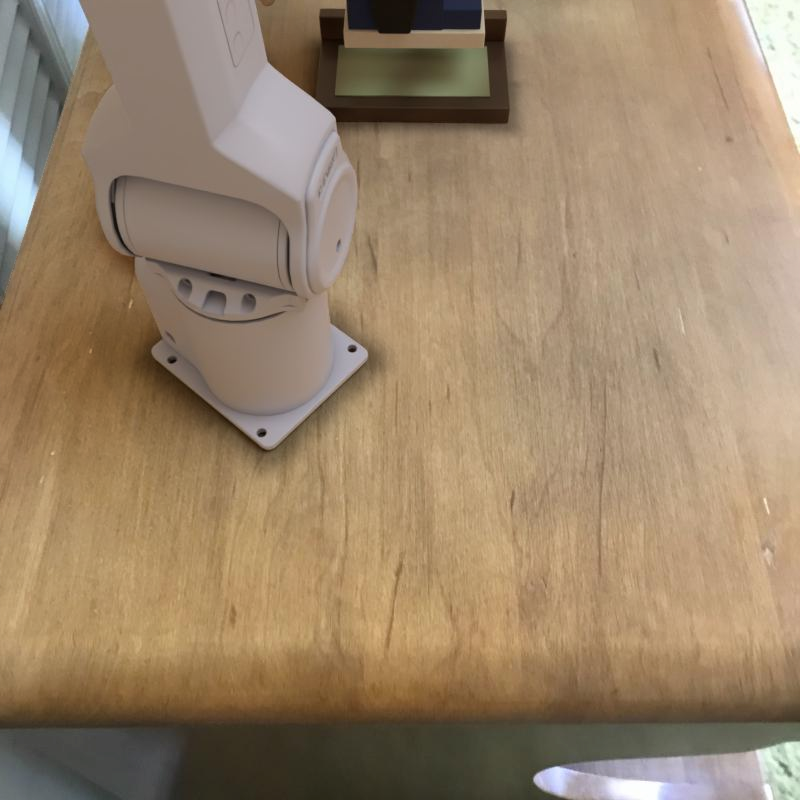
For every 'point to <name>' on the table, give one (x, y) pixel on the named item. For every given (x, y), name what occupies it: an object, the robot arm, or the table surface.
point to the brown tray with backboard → (413, 78)
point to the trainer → (420, 26)
